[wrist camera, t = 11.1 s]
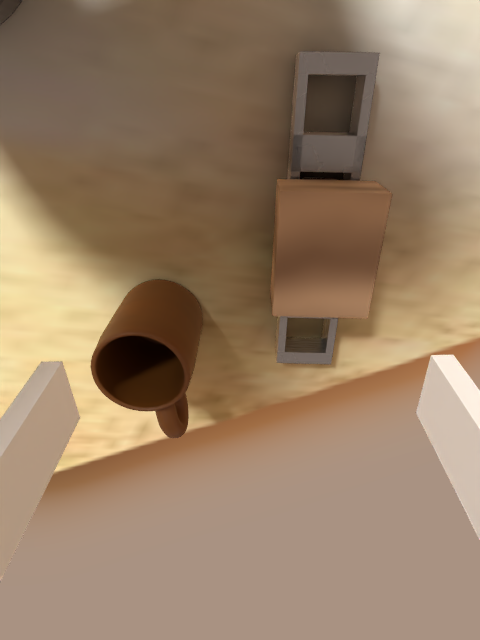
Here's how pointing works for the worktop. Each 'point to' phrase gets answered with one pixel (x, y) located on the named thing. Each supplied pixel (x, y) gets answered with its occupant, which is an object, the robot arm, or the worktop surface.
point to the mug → (151, 352)
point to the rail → (325, 167)
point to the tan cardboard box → (326, 246)
